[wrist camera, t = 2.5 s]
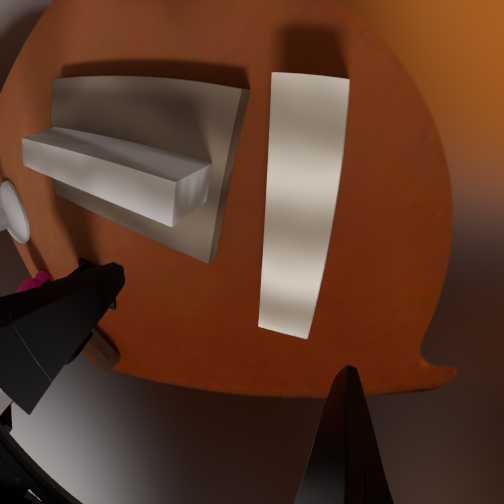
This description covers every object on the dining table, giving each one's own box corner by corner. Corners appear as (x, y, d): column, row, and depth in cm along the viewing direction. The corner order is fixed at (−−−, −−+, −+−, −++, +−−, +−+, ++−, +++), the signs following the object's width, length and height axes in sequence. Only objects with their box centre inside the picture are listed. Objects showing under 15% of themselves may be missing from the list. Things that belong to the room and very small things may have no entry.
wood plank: (65, 299, 43) (48, 315, 39) (66, 295, 42) (48, 311, 38) (121, 357, 45) (106, 375, 41) (124, 354, 44) (109, 373, 40)
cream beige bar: (315, 306, 24) (307, 338, 21) (272, 296, 25) (258, 326, 22) (349, 85, 14) (349, 79, 11) (288, 78, 15) (271, 72, 12)
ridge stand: (216, 254, 24) (180, 296, 20) (63, 189, 28) (26, 209, 23) (250, 89, 16) (206, 87, 12) (63, 77, 20) (18, 86, 15)
